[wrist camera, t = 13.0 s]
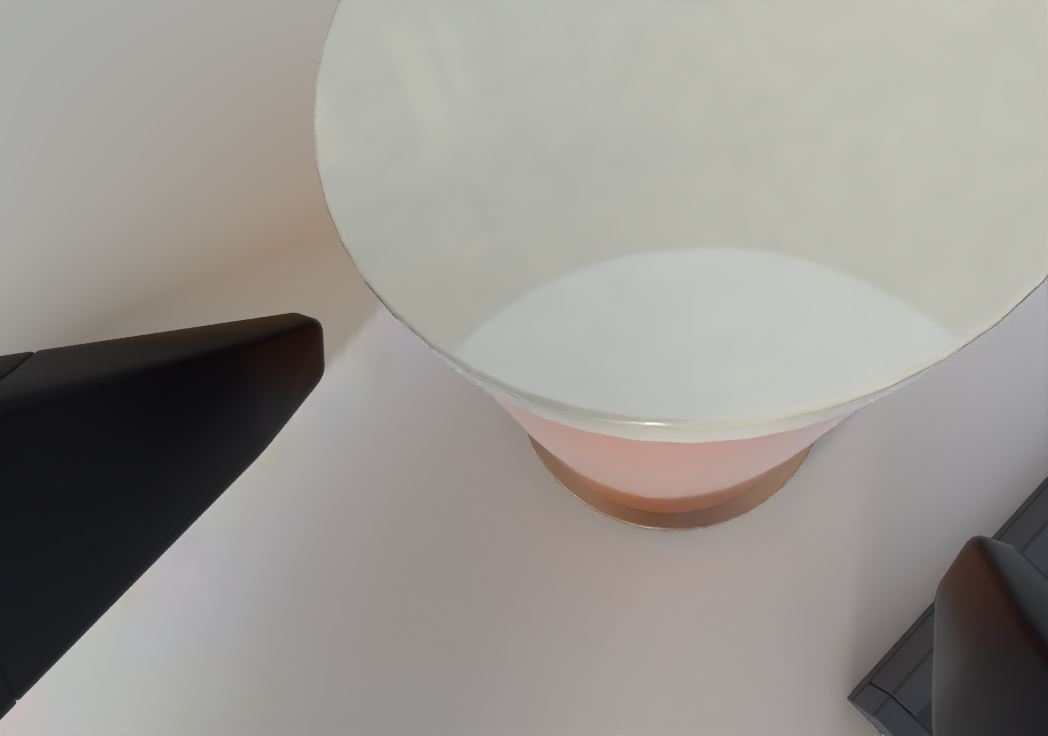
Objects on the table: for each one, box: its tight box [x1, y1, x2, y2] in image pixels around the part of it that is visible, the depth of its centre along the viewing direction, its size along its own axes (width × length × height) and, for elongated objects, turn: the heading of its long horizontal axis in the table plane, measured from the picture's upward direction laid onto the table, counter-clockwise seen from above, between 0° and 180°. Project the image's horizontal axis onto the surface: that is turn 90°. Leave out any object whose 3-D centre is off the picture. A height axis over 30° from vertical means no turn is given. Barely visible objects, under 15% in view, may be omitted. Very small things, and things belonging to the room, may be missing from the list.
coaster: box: [527, 432, 813, 531], centre depth 18 cm, size 8×8×1 cm
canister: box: [313, 0, 1048, 513], centre depth 12 cm, size 7×7×12 cm
